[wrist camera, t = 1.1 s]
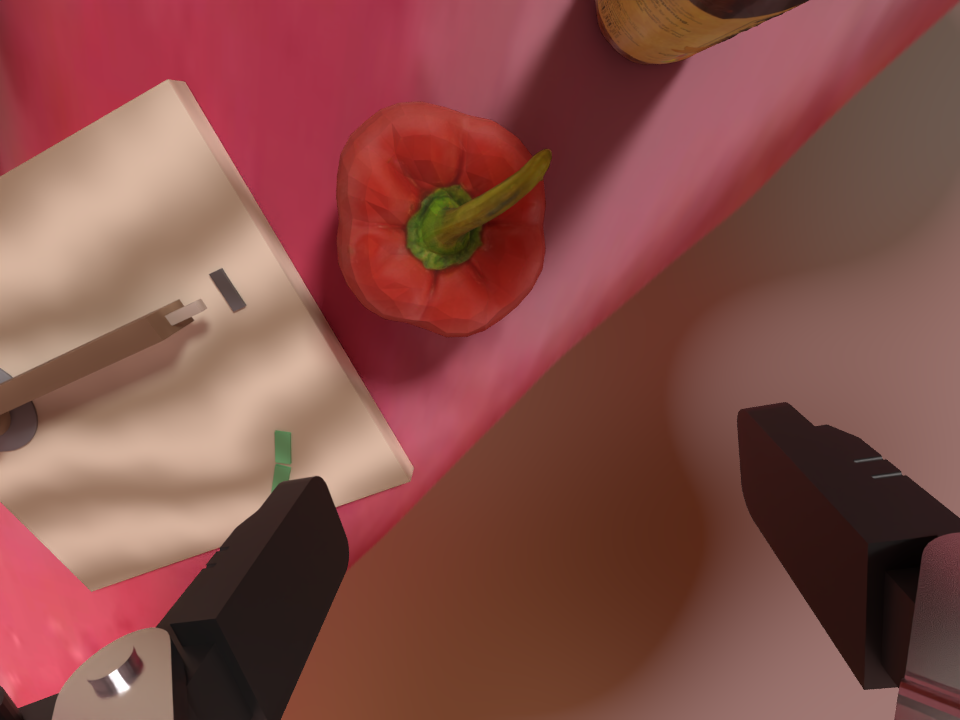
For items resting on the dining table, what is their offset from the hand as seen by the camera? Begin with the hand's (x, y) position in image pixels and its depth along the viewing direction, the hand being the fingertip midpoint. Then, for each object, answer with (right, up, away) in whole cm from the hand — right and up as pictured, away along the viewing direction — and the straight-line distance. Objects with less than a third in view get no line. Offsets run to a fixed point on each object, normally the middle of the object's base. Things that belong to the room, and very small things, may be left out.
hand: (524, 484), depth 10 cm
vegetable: (-2, +11, +19) cm, 22 cm away
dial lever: (-25, +2, +21) cm, 33 cm away
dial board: (-24, +1, +24) cm, 34 cm away
